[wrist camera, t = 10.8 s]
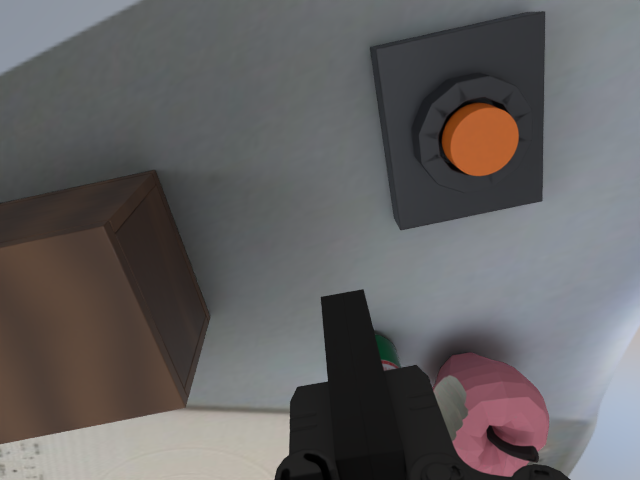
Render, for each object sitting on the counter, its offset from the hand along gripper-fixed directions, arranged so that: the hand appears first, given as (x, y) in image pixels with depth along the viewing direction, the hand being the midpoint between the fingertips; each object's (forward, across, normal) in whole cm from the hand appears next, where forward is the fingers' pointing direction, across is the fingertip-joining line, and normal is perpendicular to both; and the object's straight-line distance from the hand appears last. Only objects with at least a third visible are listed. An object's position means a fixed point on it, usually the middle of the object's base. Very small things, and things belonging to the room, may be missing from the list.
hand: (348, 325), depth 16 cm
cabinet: (+18, -18, -4) cm, 26 cm away
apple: (+18, +9, -20) cm, 29 cm away
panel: (+18, +10, +2) cm, 20 cm away
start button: (+14, +10, +2) cm, 17 cm away
